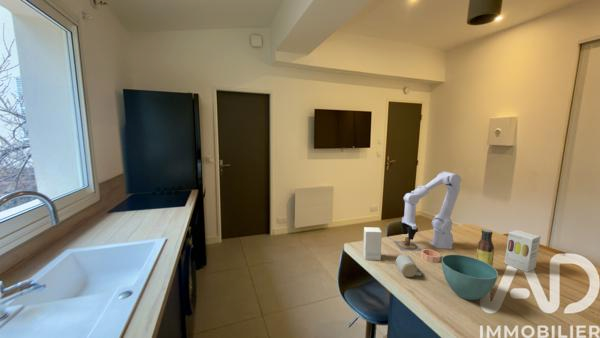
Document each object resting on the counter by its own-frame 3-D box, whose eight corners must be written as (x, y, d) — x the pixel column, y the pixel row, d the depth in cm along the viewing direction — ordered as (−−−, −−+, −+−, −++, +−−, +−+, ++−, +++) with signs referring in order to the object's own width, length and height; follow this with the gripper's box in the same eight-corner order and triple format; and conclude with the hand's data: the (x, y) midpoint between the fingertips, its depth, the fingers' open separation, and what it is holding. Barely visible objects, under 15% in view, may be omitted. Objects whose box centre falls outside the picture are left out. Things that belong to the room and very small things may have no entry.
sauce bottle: (494, 274, 109) (499, 234, 106) (479, 273, 110) (484, 232, 108) (486, 267, 115) (491, 228, 113) (472, 265, 116) (476, 227, 114)
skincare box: (378, 254, 126) (379, 227, 124) (381, 261, 119) (382, 232, 118) (362, 253, 127) (363, 226, 125) (364, 260, 120) (365, 231, 118)
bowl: (434, 254, 127) (434, 249, 127) (443, 263, 118) (444, 257, 118) (417, 254, 127) (418, 248, 127) (426, 262, 118) (426, 257, 118)
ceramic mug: (401, 278, 105) (403, 262, 104) (394, 268, 113) (396, 253, 112) (425, 279, 105) (427, 263, 104) (416, 269, 113) (418, 254, 112)
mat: (412, 242, 143) (412, 241, 143) (422, 251, 131) (422, 250, 131) (393, 241, 143) (393, 241, 143) (401, 251, 131) (401, 250, 131)
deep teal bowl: (470, 313, 84) (473, 282, 82) (429, 283, 101) (431, 257, 100) (505, 304, 89) (510, 274, 87) (461, 277, 106) (463, 252, 105)
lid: (411, 242, 141) (412, 234, 141) (419, 249, 132) (420, 241, 131) (395, 242, 141) (396, 234, 141) (402, 249, 132) (403, 241, 131)
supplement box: (503, 263, 119) (507, 231, 117) (511, 259, 124) (516, 229, 122) (528, 272, 111) (533, 239, 109) (536, 268, 115) (541, 235, 113)
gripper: (397, 210, 142) (396, 231, 143) (408, 218, 127) (406, 241, 129) (409, 210, 141) (407, 231, 143) (421, 218, 127) (419, 242, 129)
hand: (407, 236), depth 136 cm, fingers open, 7 cm apart
